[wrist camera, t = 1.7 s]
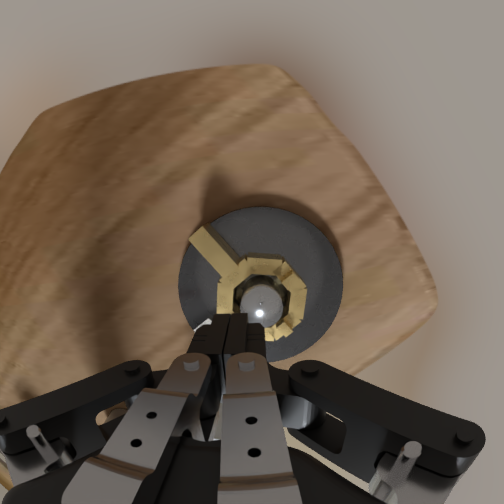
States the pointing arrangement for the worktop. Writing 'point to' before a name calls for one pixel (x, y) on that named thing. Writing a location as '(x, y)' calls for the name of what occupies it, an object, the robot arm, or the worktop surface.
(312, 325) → the flange
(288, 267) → the tan curved piece
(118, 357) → the worktop surface
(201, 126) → the worktop surface
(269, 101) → the worktop surface
